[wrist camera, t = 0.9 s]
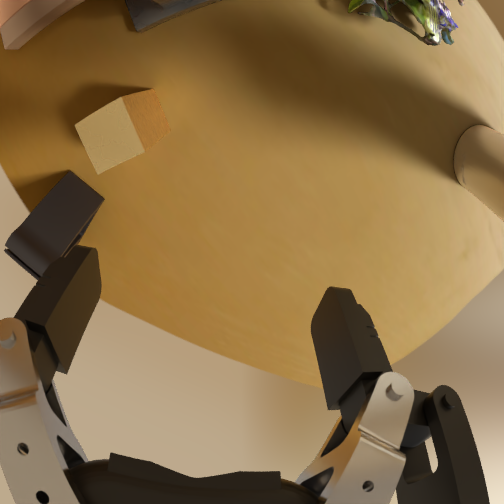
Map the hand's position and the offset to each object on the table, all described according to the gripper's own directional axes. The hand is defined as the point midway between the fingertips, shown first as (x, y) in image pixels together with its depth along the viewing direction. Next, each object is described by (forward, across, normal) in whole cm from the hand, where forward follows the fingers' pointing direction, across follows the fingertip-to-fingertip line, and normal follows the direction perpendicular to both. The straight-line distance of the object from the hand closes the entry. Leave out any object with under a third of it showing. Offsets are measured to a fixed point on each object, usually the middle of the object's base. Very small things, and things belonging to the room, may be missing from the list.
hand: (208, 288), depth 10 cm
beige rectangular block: (+22, +10, -1) cm, 24 cm away
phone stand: (+23, +19, +11) cm, 32 cm away
